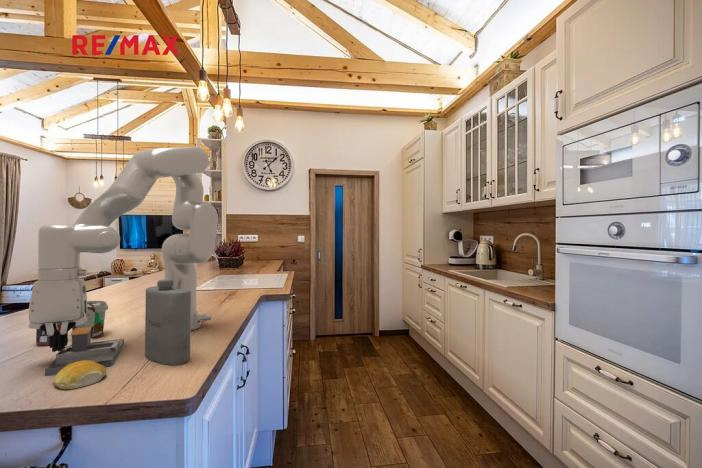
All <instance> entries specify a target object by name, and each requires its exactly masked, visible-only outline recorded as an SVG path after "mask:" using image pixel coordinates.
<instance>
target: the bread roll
mask: <svg viewBox="0 0 702 468" xmlns="http://www.w3.org/2000/svg"><path fill="white" fill-rule="evenodd" d="M106 374H107V367H104V366H103V365H101V364H98V363H96V362H94V361H92V360H82V361H78V362H74V363H71V364H69V365H67V366H66V367H64V368H63V369H62V370H60V371H59V372H58V373H57V374H55V377H54V378H53V385H54V386H55V387H57V388H59V389H61V390H75V389H80V388H83V387H84V388H85V387H87V386H90V385H93V384H95V383H98V382H100V381H101V380H102V379H103V378H104V377H105V375H106Z"/></svg>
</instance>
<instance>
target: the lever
mask: <svg viewBox="0 0 702 468" xmlns="http://www.w3.org/2000/svg"><path fill="white" fill-rule="evenodd" d="M70 334H71V345H72V351H80V350H88V349H90V347H91V343H92V341H91V340H92V339H91V327H83V328H75V329H74V330H73V331H72V330H71V332H70Z"/></svg>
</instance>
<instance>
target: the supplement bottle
mask: <svg viewBox="0 0 702 468" xmlns="http://www.w3.org/2000/svg"><path fill="white" fill-rule="evenodd" d="M56 323H57V328H58V331H59V332H60V330H61V325H62V322H56ZM35 331H36V332H35V333H36V334H35V339H36V340H35V342H36V345H37V346H50V336H48V335H47V333H46V332H44V331H43V330H41V329H35Z"/></svg>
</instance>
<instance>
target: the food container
mask: <svg viewBox="0 0 702 468" xmlns="http://www.w3.org/2000/svg"><path fill="white" fill-rule="evenodd" d="M87 305H88V311H87V314H86V317H87V322H86V323H84V324H80V325H76V326H74V327H73V328H71V332H72V331H73V330H74V329H75V328H83V327H91V340H95V339H97V338H101V337H102V336H103V335H104V328H105V317H106V311H107V310H109V305H108V303H107V302H106V301H104V300H87Z"/></svg>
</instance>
